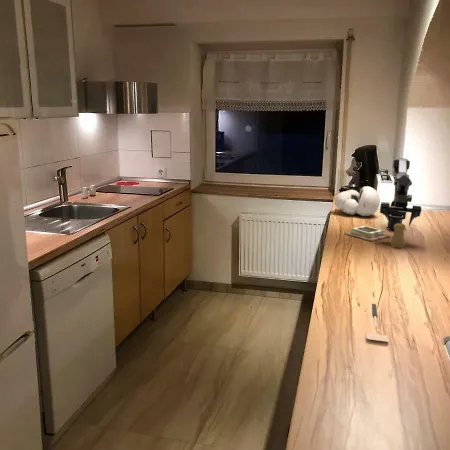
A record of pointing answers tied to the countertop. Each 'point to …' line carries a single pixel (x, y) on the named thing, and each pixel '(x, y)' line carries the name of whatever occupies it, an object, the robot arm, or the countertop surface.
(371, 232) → the shaker holder
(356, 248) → the countertop surface
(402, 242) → the cork
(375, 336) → the spatula
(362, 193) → the white lobed sculpture
